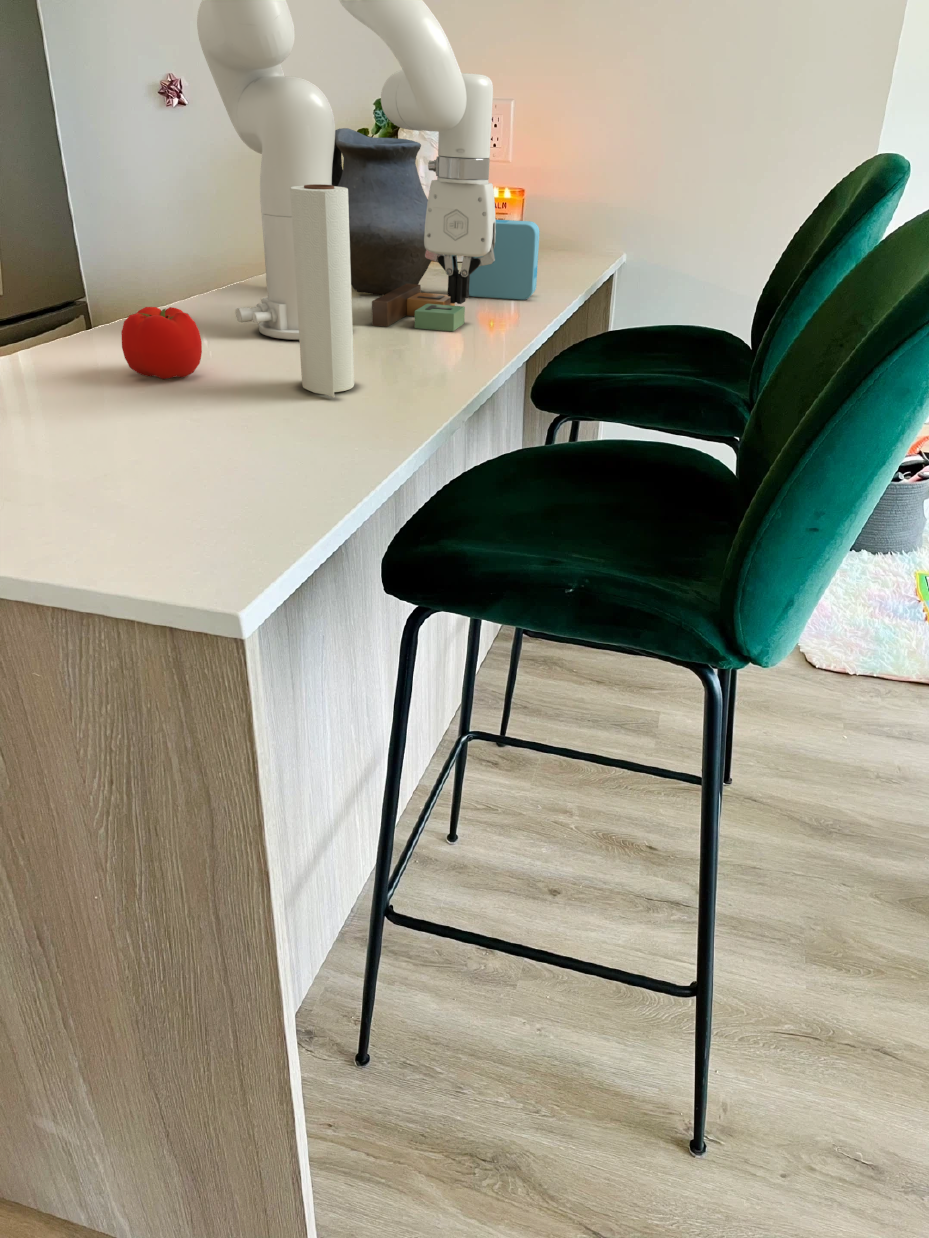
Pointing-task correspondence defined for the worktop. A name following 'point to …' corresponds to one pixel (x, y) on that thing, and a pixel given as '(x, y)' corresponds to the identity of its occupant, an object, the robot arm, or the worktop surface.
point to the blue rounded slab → (509, 263)
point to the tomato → (161, 342)
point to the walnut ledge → (393, 305)
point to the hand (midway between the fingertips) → (458, 302)
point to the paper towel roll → (323, 287)
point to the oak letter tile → (426, 301)
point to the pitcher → (382, 210)
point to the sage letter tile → (439, 317)
